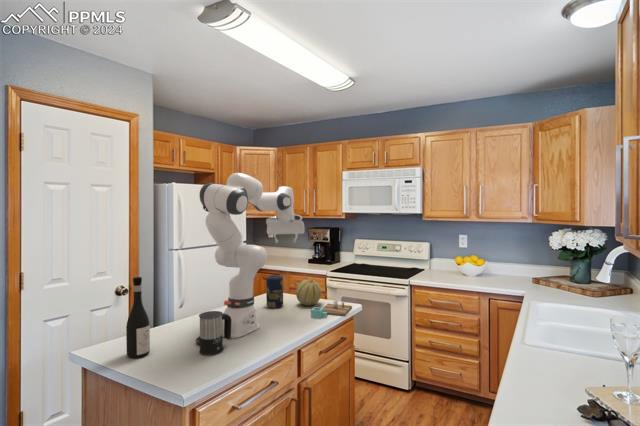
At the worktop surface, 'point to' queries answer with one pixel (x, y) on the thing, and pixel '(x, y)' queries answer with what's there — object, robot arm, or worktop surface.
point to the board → (337, 309)
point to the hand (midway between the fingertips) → (285, 242)
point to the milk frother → (213, 332)
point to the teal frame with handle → (318, 313)
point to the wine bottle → (138, 326)
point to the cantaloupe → (308, 292)
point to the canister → (274, 291)
